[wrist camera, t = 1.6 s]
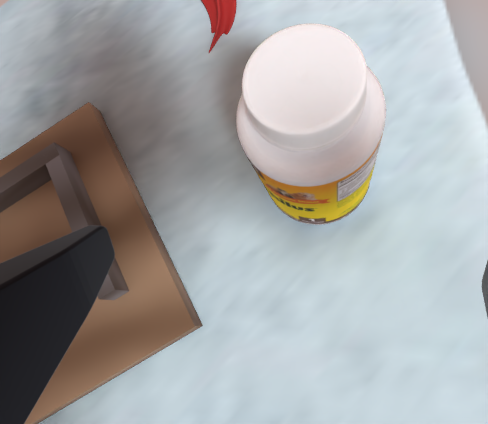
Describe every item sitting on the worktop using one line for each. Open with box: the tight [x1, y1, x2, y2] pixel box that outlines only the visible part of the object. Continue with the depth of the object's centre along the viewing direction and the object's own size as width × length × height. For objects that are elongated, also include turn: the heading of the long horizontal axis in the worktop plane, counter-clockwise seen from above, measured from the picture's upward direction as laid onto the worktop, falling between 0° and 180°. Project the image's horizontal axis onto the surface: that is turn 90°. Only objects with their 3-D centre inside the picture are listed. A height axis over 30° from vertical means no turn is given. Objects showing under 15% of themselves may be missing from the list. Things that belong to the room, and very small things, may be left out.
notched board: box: [0, 102, 203, 424], centre depth 23 cm, size 16×16×3 cm
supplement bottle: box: [236, 24, 386, 225], centre depth 17 cm, size 6×6×10 cm
